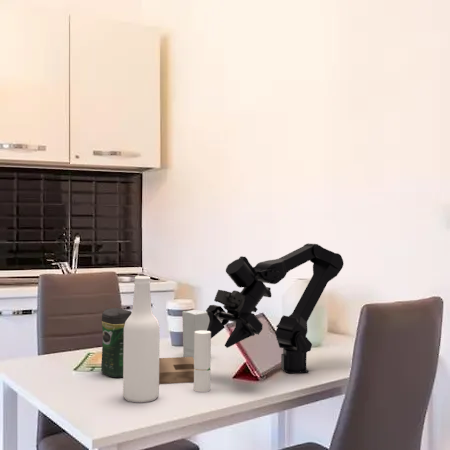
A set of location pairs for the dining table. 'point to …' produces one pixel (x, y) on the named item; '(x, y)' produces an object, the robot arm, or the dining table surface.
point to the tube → (202, 360)
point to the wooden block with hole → (176, 370)
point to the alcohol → (141, 347)
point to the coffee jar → (113, 341)
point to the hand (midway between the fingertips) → (215, 343)
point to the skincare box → (192, 329)
